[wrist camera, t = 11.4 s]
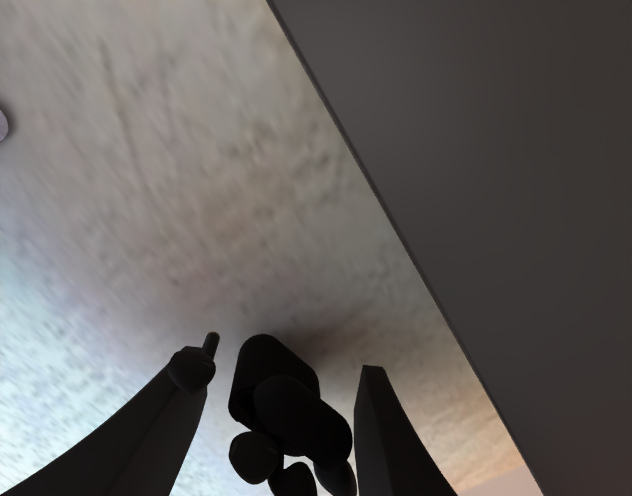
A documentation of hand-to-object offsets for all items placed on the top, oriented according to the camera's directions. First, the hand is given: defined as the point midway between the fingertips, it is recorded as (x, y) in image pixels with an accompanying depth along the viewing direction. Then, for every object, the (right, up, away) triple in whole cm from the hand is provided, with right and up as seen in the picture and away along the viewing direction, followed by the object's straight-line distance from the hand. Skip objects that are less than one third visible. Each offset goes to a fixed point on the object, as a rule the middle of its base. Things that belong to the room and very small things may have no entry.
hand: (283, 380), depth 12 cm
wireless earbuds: (0, +1, +1) cm, 2 cm away
